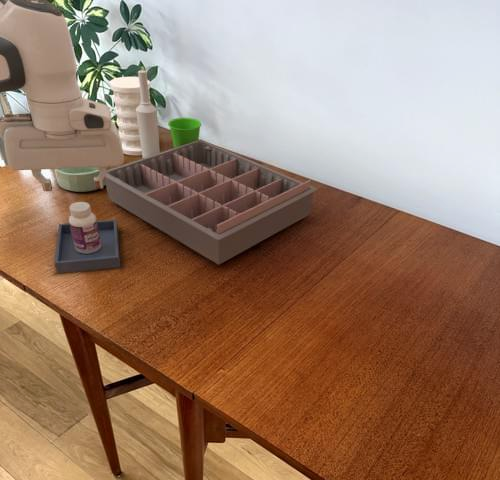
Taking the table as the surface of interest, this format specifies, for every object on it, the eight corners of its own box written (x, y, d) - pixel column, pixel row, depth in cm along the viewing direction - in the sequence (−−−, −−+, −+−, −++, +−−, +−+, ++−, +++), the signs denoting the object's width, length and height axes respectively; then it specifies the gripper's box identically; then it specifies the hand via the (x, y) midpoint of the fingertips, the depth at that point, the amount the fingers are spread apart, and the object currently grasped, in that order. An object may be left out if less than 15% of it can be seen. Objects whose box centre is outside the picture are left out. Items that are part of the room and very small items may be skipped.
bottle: (157, 178, 125) (146, 75, 108) (140, 174, 126) (127, 72, 109) (165, 170, 129) (157, 70, 112) (149, 167, 130) (137, 67, 113)
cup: (207, 159, 135) (206, 120, 128) (195, 171, 129) (194, 131, 121) (178, 154, 137) (175, 115, 129) (165, 166, 131) (162, 126, 123)
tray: (57, 273, 92) (54, 263, 91) (61, 233, 103) (58, 223, 101) (120, 267, 95) (118, 257, 93) (117, 229, 105) (116, 219, 104)
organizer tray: (201, 167, 131) (200, 131, 124) (313, 219, 112) (319, 180, 105) (105, 204, 114) (97, 164, 107) (218, 273, 94) (218, 230, 88)
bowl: (56, 195, 116) (51, 176, 112) (59, 172, 125) (55, 154, 122) (111, 191, 118) (108, 172, 115) (110, 169, 128) (107, 151, 124)
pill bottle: (92, 257, 96) (82, 215, 89) (70, 251, 97) (59, 209, 91) (106, 244, 100) (98, 203, 93) (85, 238, 101) (76, 197, 94)
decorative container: (110, 147, 139) (99, 81, 126) (140, 137, 145) (132, 73, 133) (135, 158, 133) (126, 91, 121) (165, 148, 140) (159, 82, 128)
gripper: (-11, 120, 75) (13, 199, 85) (118, 118, 80) (128, 193, 89) (-5, 107, 80) (18, 184, 89) (117, 106, 84) (126, 179, 94)
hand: (74, 188), depth 89 cm, fingers open, 8 cm apart
